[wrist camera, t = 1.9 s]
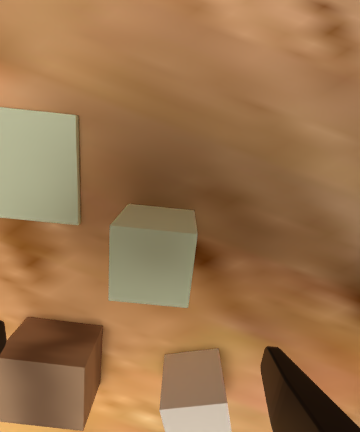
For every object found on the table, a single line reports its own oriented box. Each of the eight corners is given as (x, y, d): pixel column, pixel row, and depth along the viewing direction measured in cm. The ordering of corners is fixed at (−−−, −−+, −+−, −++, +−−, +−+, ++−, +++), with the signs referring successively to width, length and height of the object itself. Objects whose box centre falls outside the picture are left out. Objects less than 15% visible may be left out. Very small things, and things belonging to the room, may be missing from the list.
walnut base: (103, 324, 20) (84, 367, 16) (100, 379, 22) (83, 430, 18) (29, 315, 20) (-8, 357, 16) (32, 371, 22) (0, 421, 18)
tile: (78, 115, 15) (75, 115, 15) (80, 223, 17) (78, 225, 17) (-37, 103, 15) (-43, 102, 15) (-21, 213, 17) (-26, 214, 17)
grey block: (218, 347, 20) (227, 403, 16) (224, 387, 22) (234, 449, 18) (164, 353, 21) (159, 409, 16) (173, 393, 22) (171, 454, 18)
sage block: (194, 209, 17) (197, 234, 13) (187, 268, 18) (187, 308, 14) (128, 203, 17) (109, 225, 13) (126, 262, 18) (108, 300, 14)
